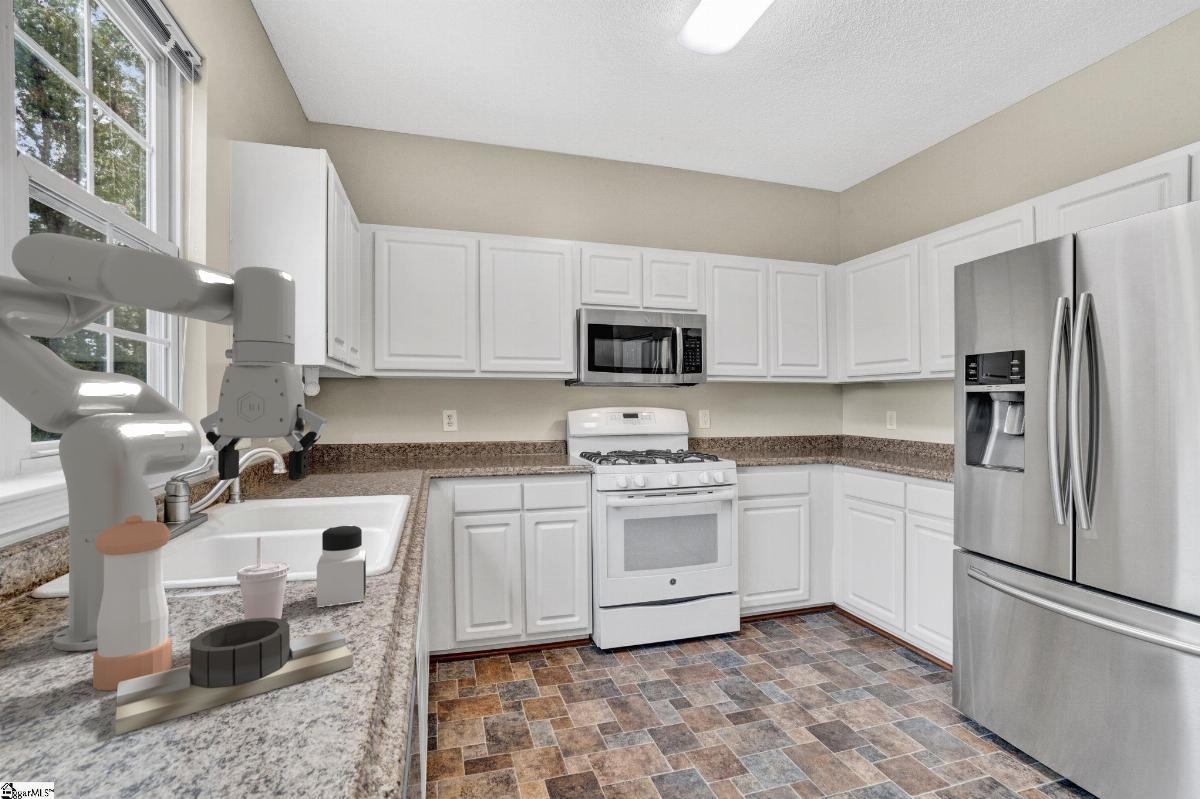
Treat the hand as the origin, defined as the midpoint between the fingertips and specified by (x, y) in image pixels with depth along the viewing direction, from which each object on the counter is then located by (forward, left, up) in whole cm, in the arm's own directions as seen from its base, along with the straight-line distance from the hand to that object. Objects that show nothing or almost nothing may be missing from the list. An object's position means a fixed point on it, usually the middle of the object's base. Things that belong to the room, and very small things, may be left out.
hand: (263, 479), depth 78 cm
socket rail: (+9, -10, -22) cm, 26 cm away
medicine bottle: (-2, +16, -22) cm, 28 cm away
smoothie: (0, 0, -22) cm, 22 cm away
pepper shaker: (-5, -13, -22) cm, 26 cm away
